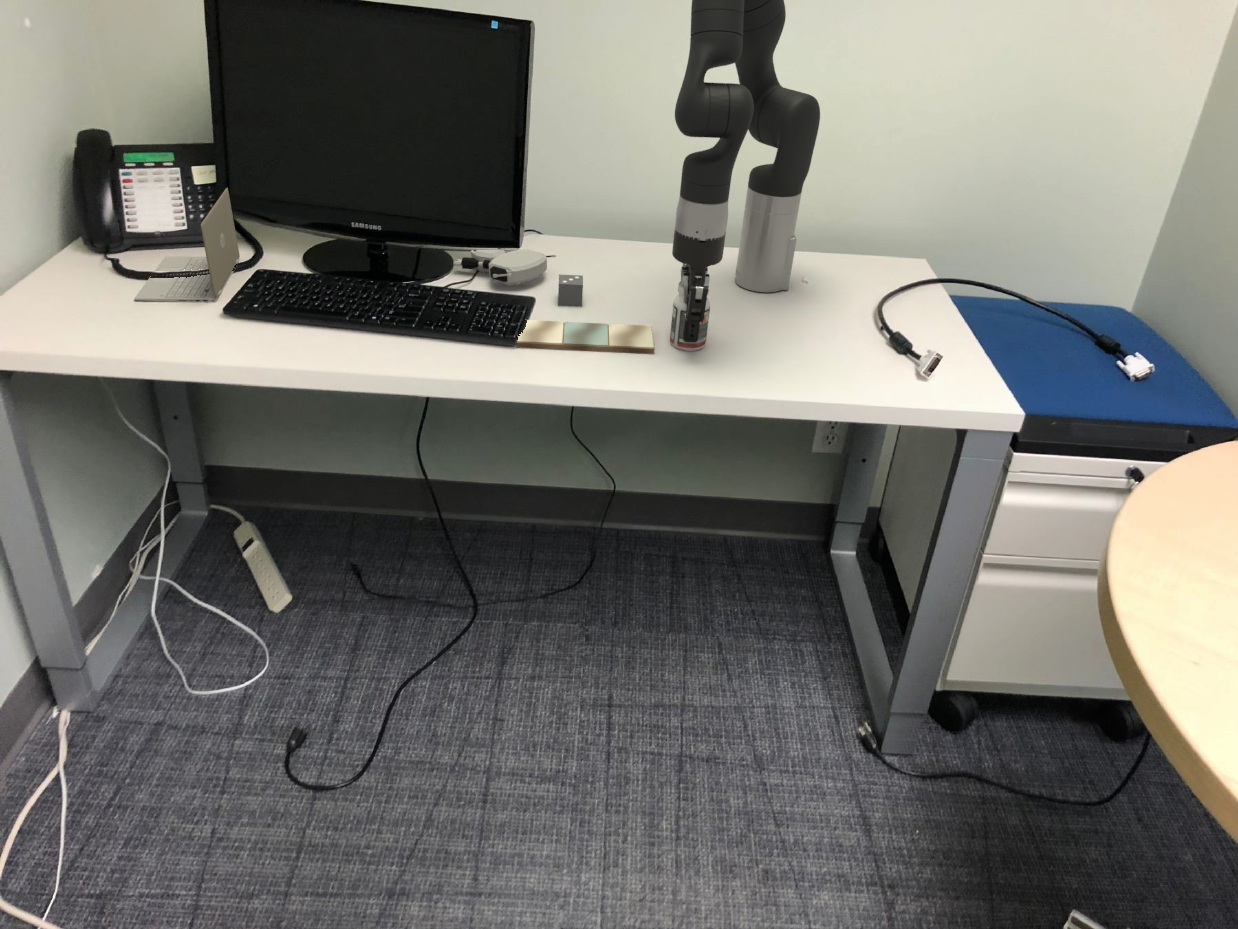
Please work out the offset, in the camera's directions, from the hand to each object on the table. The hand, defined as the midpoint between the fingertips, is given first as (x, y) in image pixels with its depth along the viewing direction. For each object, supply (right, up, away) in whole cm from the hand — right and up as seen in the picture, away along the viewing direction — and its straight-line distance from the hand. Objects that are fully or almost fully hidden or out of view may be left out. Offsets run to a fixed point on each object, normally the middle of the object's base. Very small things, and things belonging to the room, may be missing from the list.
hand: (688, 331), depth 146 cm
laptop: (-82, +10, +10) cm, 83 cm away
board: (-16, -1, 0) cm, 16 cm away
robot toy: (-31, +12, +20) cm, 39 cm away
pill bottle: (0, -2, +1) cm, 2 cm away
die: (-19, +7, +12) cm, 23 cm away
